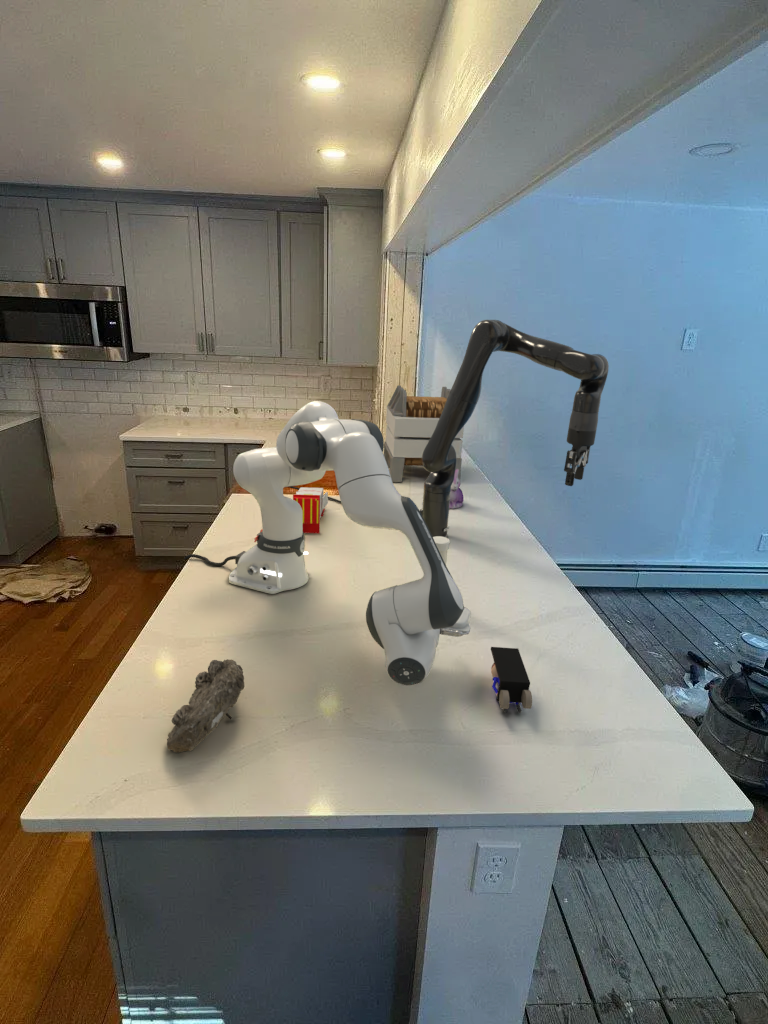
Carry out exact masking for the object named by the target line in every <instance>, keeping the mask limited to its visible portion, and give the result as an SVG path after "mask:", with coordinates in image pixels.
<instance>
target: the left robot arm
mask: <svg viewBox="0 0 768 1024" xmlns="http://www.w3.org/2000/svg"><path fill="white" fill-rule="evenodd" d="M384 442H385V439H384V436H383V433H382V431H381V429H380V428H379V427H378V425H377V424H376V423H374V422H371V421H369V420H364V419H357V418H351V419H345V418H342V419H341V418H339V416H338V413H337V411H336V410H335V408H334V407H333V406H331V405H330V404H329V403H327V402H325V401H321V400H314V401H310V402H308V403H306V404H304V405H302V407H301V408H299V409H298V410H297V411H296V412H294V414H293V415H292V416H291V417H290V418H289V420H288V421H287V423H285V425H284V426H283V428H282V430H281V431H280V432H279V434H278V435H277V438H276V443H275V444H276V446H269V447H259V448H253V449H250V450H247V451H245V452H242V453H239V454H238V455H237V456H236V458H235V460H234V462H233V467H232V472H233V477H234V480H235V481H236V483H237V485H239V487H240V488H242V489H243V490H245V491H246V492H248V493H250V495H252V496H253V498H254V499H255V500H256V503H257V504H258V506H259V510H260V515H261V529H260V531H259V532H258V533H257V534H256V537H254V539H253V540H254V542H253V543H256V544H254V545H253V546H252V547H250V548H249V549H247V550H242V551H241V552H239V553H238V554H235V555H230V556H228V557H226V558H225V559H224V560H223V561H222V562H216V561H215V562H214V561H211V560H210V559H209V558H207V557H206V556H203V555H201V554H200V555H199V554H197V553H190V554H187V555H186V556H184V557H183V560H189V559H191V558H193V559H194V558H195V559H199V560H202V561H204V562H205V563H206V564H208V565H209V566H213V567H223V566H225V565H226V564H227V563H228V561H231V560H232V561H233V560H234V562H235V563H234V564H235V565H236V567H235V568H234V569H233V570H232V571H231V572H230V573H229V575H228V583H229V584H232V585H235V586H239V587H242V588H246V589H249V590H250V589H251V590H254V591H258V592H262V593H266V594H269V595H275V594H278V593H281V592H283V591H290V590H291V591H292V590H294V589H298V588H301V587H303V586H304V585H306V584H307V583H308V582H309V579H310V577H309V575H308V571H307V567H306V561H305V556H306V555H309V552H308V551H305V548H306V541H305V533H304V532H303V511H302V508H301V506H300V504H299V503H298V502H296V501H295V500H293V498H291V497H288V496H285V495H284V488H290V486H293V487H297V486H303V485H308V484H311V483H314V482H317V481H319V480H321V479H323V477H324V476H325V474H326V472H327V471H329V472H330V471H333V472H334V476H335V481H336V482H335V483H336V486H337V492H338V495H339V500H340V501H341V503H340V504H341V507H342V510H343V511H344V513H345V515H346V516H347V518H348V519H350V520H351V521H352V522H353V523H355V524H357V525H359V526H361V527H366V528H372V529H381V530H383V529H384V530H394V531H398V532H400V533H402V534H403V535H405V536H406V539H407V540H408V542H409V544H410V546H411V548H412V550H413V553H414V555H415V557H416V559H417V561H418V563H419V566H420V569H421V570H422V574H423V576H422V577H421V578H418V579H416V580H415V579H414V580H412V581H408V582H404V583H402V584H398V585H397V584H396V585H393V586H390V587H386V588H383V589H379V590H376V591H374V592H373V593H372V594H371V596H370V598H369V600H368V603H367V606H366V611H365V621H366V625H367V629H368V631H369V634H370V635H371V637H372V639H373V640H374V642H375V643H376V644H377V645H378V646H379V647H380V648H381V649H383V650H384V655H385V668H386V672H387V675H388V677H389V678H390V679H391V680H392V681H394V682H395V683H397V684H399V685H402V686H415V685H419V684H421V683H422V682H424V681H425V680H426V679H427V677H428V676H429V674H430V673H431V670H432V667H433V666H434V665H433V664H434V661H435V658H436V654H437V647H438V645H439V640H440V636H447V637H457V638H458V637H463V636H465V635H469V634H470V632H471V626H470V622H471V613H472V612H471V610H470V609H469V607H466V606H465V605H464V599H463V594H462V592H461V590H460V588H459V586H458V584H457V583H456V582H455V580H454V578H453V576H452V574H451V572H450V571H449V569H448V567H447V564H446V565H445V563H444V560H443V558H442V556H441V554H440V552H439V550H438V548H437V545H436V543H435V541H434V539H433V537H432V535H431V533H430V530H429V528H428V526H427V524H426V522H425V520H424V518H423V516H422V514H421V513H420V509H419V508H418V507H419V506H417V504H416V503H415V502H414V501H413V499H411V498H410V497H409V496H403V495H401V493H400V492H399V491H398V489H397V488H396V486H395V484H394V482H392V479H391V475H390V468H389V467H388V466H387V463H386V460H385V457H384Z"/></svg>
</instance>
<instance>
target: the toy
mask: <svg viewBox="0 0 768 1024" xmlns="http://www.w3.org/2000/svg"><path fill="white" fill-rule="evenodd" d="M299 488H300V489H299V490H297V491H296V492H295V494H292V499H293V500H295V501H296V502H298V503H299V504H300V506H301V508H302V511H303V532H304V534H320V533H321V532H320V530H321V528H320V524H321V523H320V522H321V517H324V513H325V511H326V506H327V505H328V504H329V499H328V497H329V492H328V491H326V492H325V493H324V491H325V489H324V487H308V486H307V487H306V486H305V487H303V486H301V487H299ZM323 495H324V496H323Z"/></svg>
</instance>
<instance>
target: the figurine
mask: <svg viewBox="0 0 768 1024" xmlns="http://www.w3.org/2000/svg"><path fill="white" fill-rule="evenodd" d="M458 473H459V470H458V469H456V471H455V476H454V481H453V483H452V486H451V493H450V505H449V509H459V508H461V507H462V506H463V503H464V493H463V490H462V489H461V480H460V481H459V479H458Z"/></svg>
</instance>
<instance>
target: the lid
mask: <svg viewBox="0 0 768 1024" xmlns="http://www.w3.org/2000/svg"><path fill="white" fill-rule="evenodd" d="M433 539H434V541H435V543H436V545H437V548H438V550H439V551H447V550H448V551H449V550H450V544H451V541H450V539H449V538H448V537H447V538H446V537H441V536H436V537H433ZM448 551H447V552H448Z"/></svg>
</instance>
